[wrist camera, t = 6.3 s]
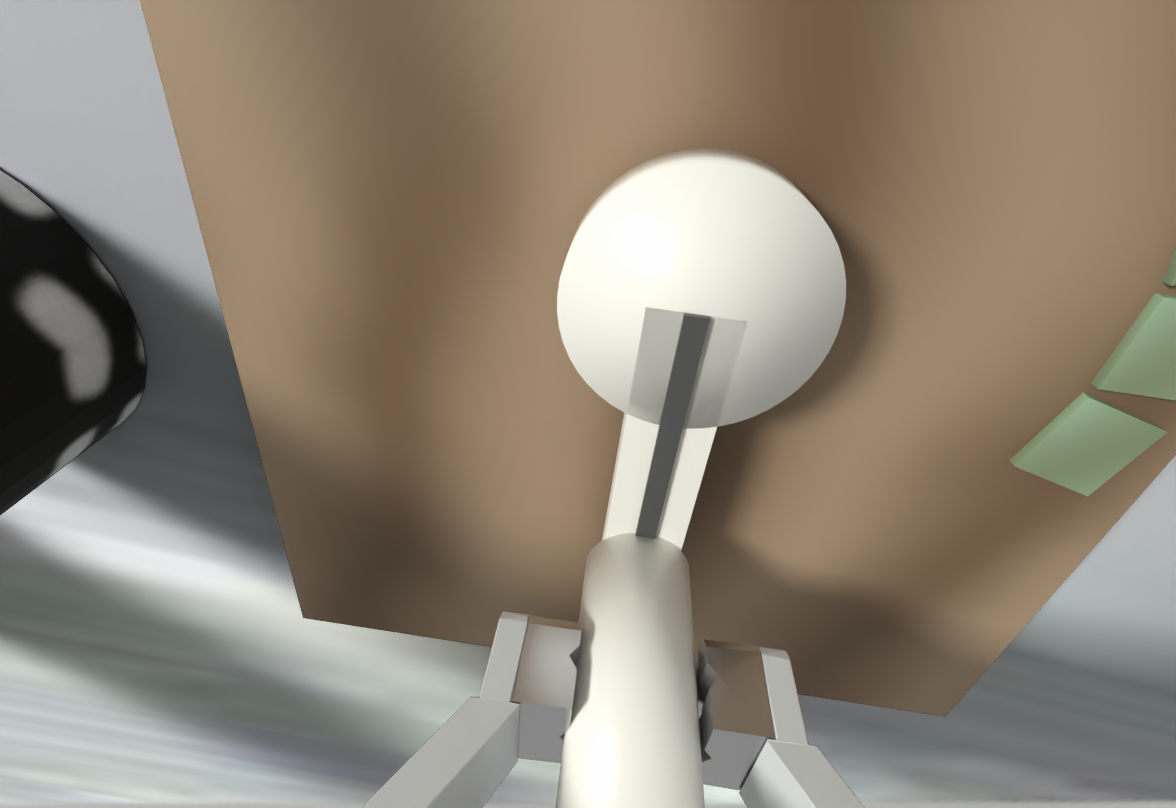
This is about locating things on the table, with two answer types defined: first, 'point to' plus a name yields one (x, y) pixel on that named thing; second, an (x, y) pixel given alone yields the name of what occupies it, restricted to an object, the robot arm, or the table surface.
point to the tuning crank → (675, 429)
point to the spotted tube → (57, 345)
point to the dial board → (740, 450)
